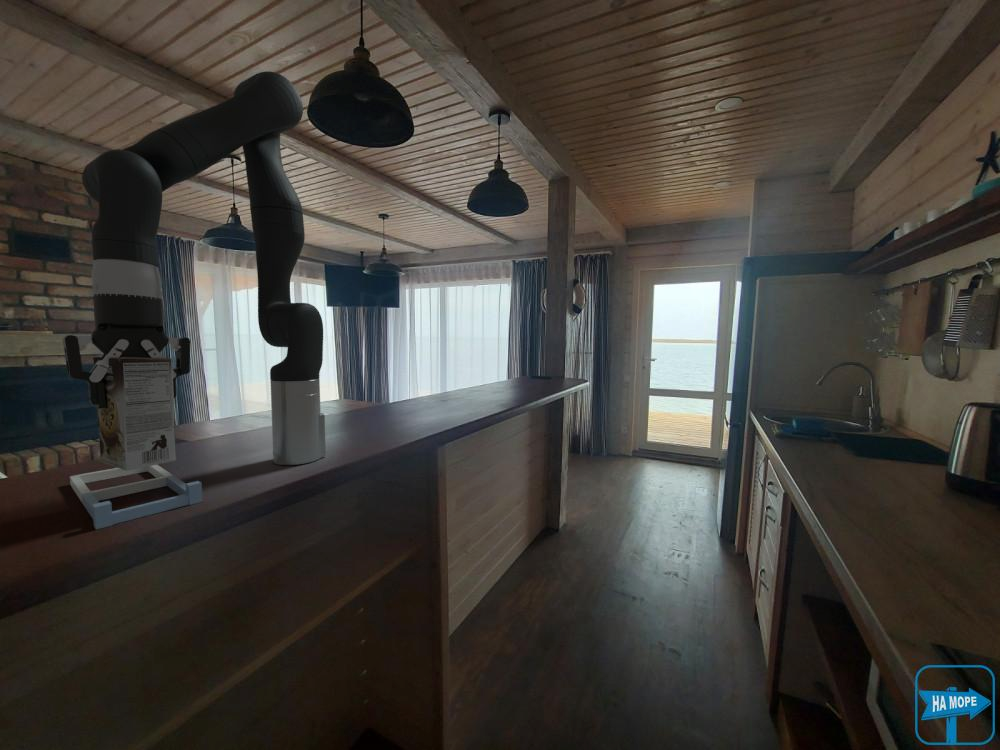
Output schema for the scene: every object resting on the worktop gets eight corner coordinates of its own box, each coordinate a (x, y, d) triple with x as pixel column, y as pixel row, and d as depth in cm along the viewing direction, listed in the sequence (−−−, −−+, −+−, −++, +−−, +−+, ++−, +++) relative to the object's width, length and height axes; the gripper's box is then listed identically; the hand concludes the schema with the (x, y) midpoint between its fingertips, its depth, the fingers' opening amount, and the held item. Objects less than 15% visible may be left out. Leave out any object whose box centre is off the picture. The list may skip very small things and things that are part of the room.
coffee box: (98, 462, 59) (91, 356, 58) (151, 452, 65) (146, 356, 63) (124, 471, 55) (117, 357, 54) (178, 460, 60) (173, 356, 59)
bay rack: (154, 468, 77) (154, 453, 76) (202, 501, 60) (201, 482, 60) (67, 485, 67) (66, 468, 67) (95, 529, 51) (94, 507, 51)
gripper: (181, 301, 66) (186, 398, 67) (53, 291, 54) (61, 408, 55) (196, 298, 61) (201, 402, 63) (59, 286, 50) (68, 413, 51)
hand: (135, 404), depth 59 cm, fingers closed on coffee box, 7 cm apart
